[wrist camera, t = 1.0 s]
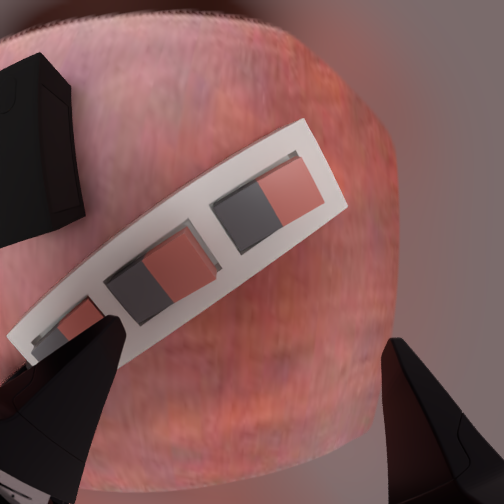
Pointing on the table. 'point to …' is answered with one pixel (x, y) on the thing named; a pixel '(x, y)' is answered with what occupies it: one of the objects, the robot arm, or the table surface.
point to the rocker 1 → (68, 328)
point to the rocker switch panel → (206, 233)
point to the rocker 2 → (163, 276)
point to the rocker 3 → (268, 202)
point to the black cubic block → (36, 152)
